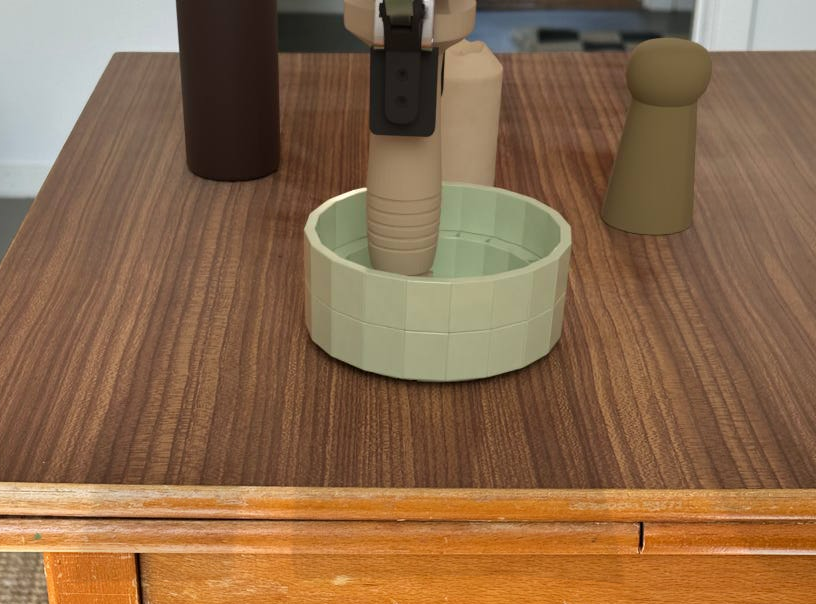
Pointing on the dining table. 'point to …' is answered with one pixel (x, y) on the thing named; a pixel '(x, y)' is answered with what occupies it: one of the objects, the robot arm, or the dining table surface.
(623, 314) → the dining table surface
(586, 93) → the dining table surface
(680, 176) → the olive brown knobbed cone
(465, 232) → the bowl
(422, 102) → the robot arm
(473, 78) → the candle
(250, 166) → the bottle
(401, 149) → the handle
